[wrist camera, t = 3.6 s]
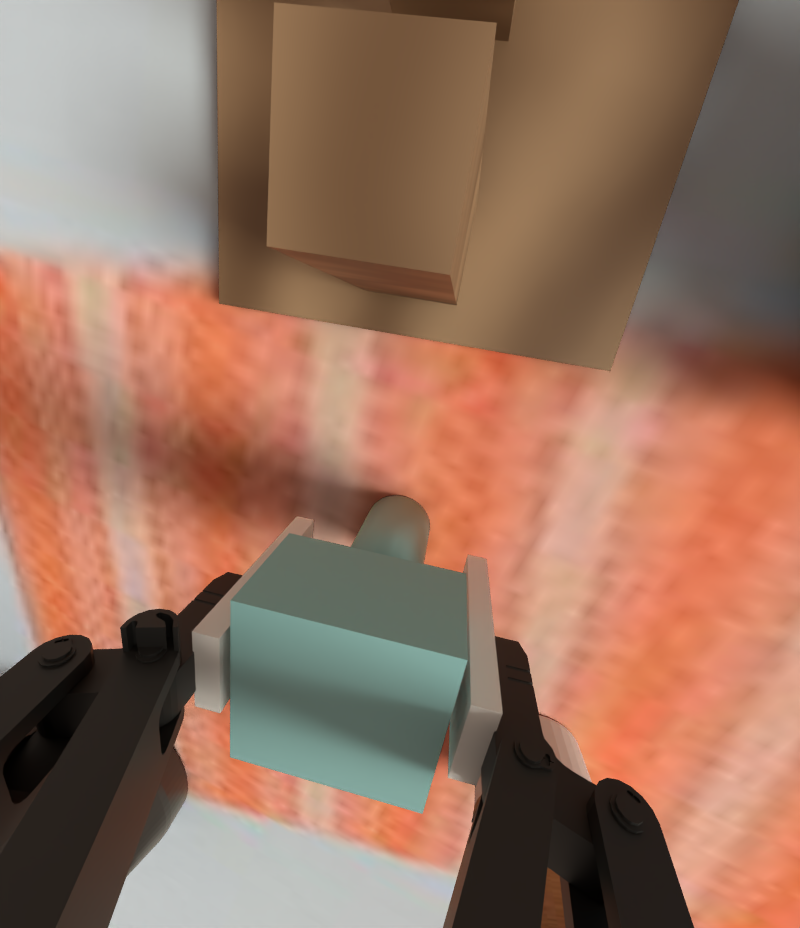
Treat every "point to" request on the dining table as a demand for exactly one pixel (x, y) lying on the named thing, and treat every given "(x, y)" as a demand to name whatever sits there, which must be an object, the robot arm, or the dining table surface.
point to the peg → (350, 658)
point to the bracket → (456, 162)
